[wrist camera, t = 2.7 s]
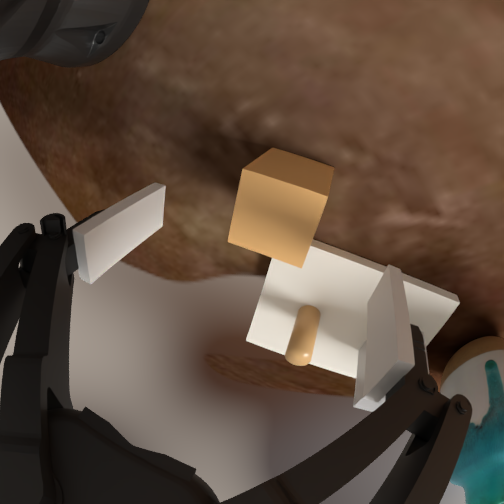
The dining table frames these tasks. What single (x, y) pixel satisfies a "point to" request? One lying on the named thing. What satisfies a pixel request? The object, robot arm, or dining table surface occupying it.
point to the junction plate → (336, 312)
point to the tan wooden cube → (280, 205)
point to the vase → (480, 418)
